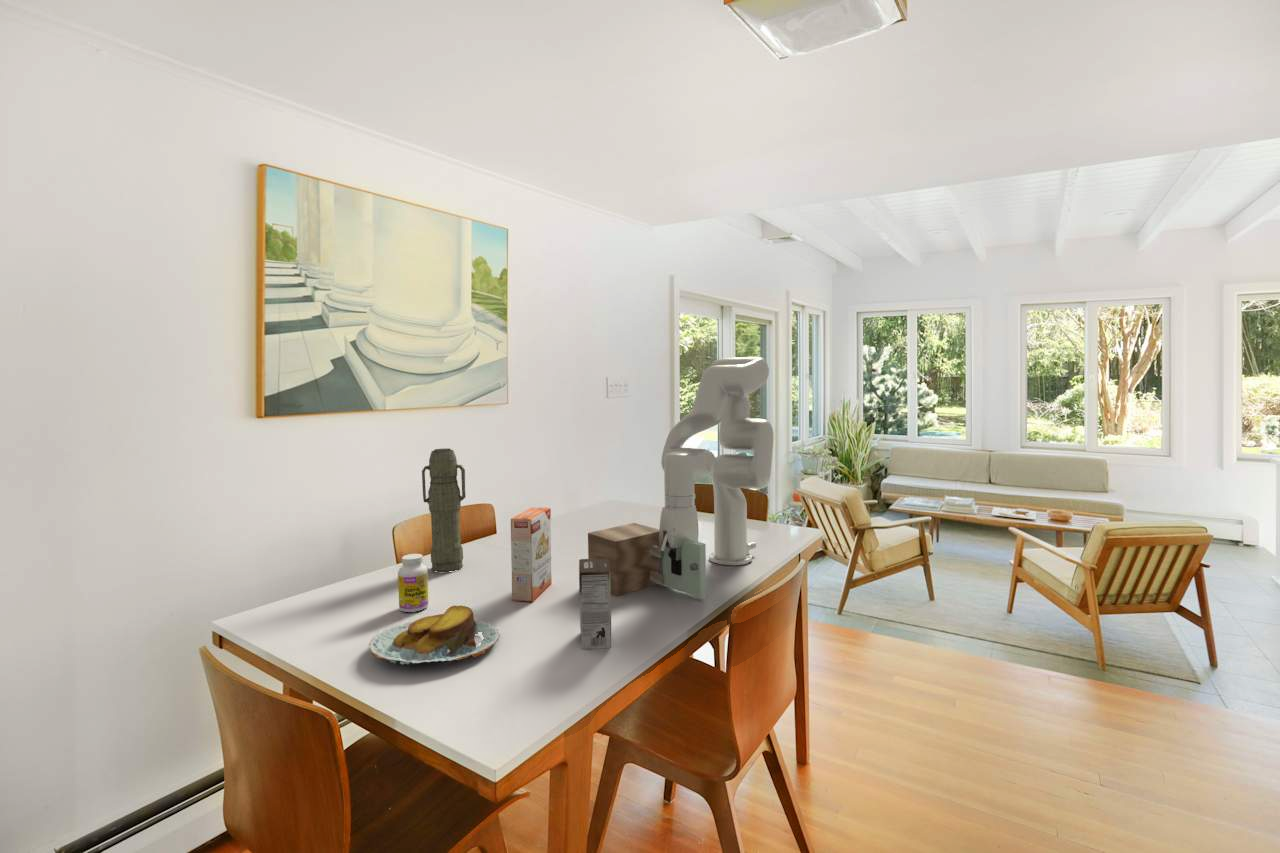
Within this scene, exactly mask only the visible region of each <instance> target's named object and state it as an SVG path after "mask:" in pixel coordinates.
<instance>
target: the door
mask: <svg viewBox="0 0 1280 853" xmlns="http://www.w3.org/2000/svg"><path fill="white" fill-rule="evenodd" d="M706 546H707V545H706V543H703V542H700V541H698V542H696V541H692V540H686V541H683V546H682V547H680V560H681V575H680V576H679V575H676V574H673V573H671V558H669V556H668V555H667V554H666V553H663V552H662V558H659V569H660V574H662V579H663V584H660V585H662V586H666V587H667V588H670V589H672V590H673V589H674V590H677V591H679V592H682V593H685V594H688V595H691V596H694V597H696V598H699V599H702V598H704V597H707V570H706V569H707V567H706V566H707V565H706V564H707V562H706V559H707V558H706V557H707V556H706V554H707V552H706V550H707V549H706ZM659 547H662V546H661V545H660V544H659ZM668 548H669V547H668ZM674 552H675V550H674Z"/></svg>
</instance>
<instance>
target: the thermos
mask: <svg viewBox="0 0 1280 853" xmlns="http://www.w3.org/2000/svg"><path fill="white" fill-rule="evenodd" d="M428 462H429V463H428V465H425V466H424V467H423V469H422V470H421V480H422V483H421V484H422V497H423V498H422V499H423V503H427V504H428V509H429V510H428V511H429V513H430V521H431V522H430V524H431V548H430V563H431V571H432V570H433V571H437V572H449V571H455V570H458V571H460V570H462V569H463V568H462V567H464V566H463V559H464V548H463V546H462V544H461V524H460V523H461V522H460V521H461V520H460V510H461V508H462V507H461V504H462V501H463V500H464V499H466V469H465V468H464V466H463V465H462V464H458V462H457V456H456V454H455V451H454V449H451V448H436V449H433V450H431V452H430V457H429V459H428ZM458 468H459V469H460V471H461V472H460V473H461V476H460V477H461V490H460V487H459V484H458V481H459V480H458V478H457V476H458ZM426 470H428V471H429V478H430V481H429V488H428V491H427V494H428V497H427V494H426V473H425V472H426ZM461 568H462V569H461ZM459 569H460V570H459ZM433 571H432V572H433ZM455 572H456V571H455ZM449 573H450V572H449Z"/></svg>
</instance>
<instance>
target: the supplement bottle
mask: <svg viewBox="0 0 1280 853" xmlns="http://www.w3.org/2000/svg"><path fill="white" fill-rule="evenodd" d="M423 558H424V557H423V554H421V553H410V554H409V553H408V554H406V555H403V556H402V557H401V564H402V566H401V567H400V568H399V569H398V570H397V584H398V585H397V586H398V587H397V588H398V607H399V610H400V611H401V612H402V611H405V612H413V613H415V612H414V611H419V612H421V611H420V610H422V611H423V609H424V610H426V609H427V608H428V606H429V584H428V583H429V581H428V568H427V566H426V565H425V564H423V560H424V559H423ZM425 608H426V609H425ZM405 612H404V613H405Z"/></svg>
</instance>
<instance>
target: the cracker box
mask: <svg viewBox="0 0 1280 853" xmlns="http://www.w3.org/2000/svg"><path fill="white" fill-rule="evenodd" d="M551 510H552V509H551V508H550V507H530V508H528V509H525V510H524V511H522V512H521V513H519V514H517V515H515V516H513V517H511V518H510V555H511V557H510V559H511V561H510V563H511V600H512V601H515V602H528V603H529V602H531V603H533V602H535V600H536V599H537V598H538V597H540V596H541V595H542V594H543V592H545V591H546V590H547V589H548V588H549V587H550V586H551V585H552V529H551V528H552V527H551V525H552V524H551V523H552V522H551V521H552V520H551V519H552V517H551V516H552V515H551V512H552V511H551Z"/></svg>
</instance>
